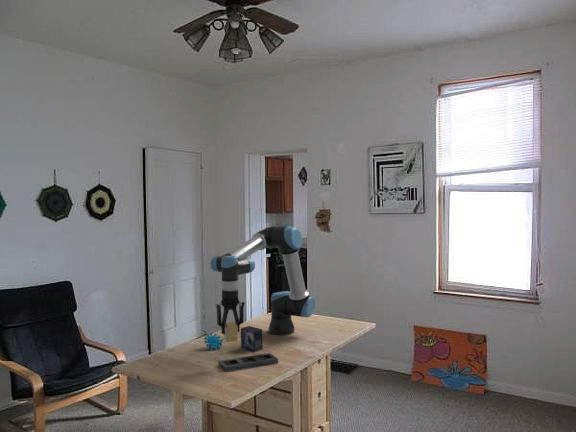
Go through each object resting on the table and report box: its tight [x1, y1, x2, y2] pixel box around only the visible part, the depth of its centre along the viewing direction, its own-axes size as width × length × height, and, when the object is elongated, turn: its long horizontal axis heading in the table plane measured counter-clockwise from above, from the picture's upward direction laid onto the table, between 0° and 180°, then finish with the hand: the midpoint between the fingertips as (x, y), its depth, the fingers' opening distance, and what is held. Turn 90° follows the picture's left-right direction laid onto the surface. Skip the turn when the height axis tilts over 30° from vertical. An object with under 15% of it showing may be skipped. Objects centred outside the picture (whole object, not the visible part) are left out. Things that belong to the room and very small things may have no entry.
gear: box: [203, 332, 224, 351], centre depth 256 cm, size 11×6×10 cm
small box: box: [240, 325, 264, 352], centre depth 254 cm, size 11×6×10 cm, turn 47°
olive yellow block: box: [225, 321, 238, 343], centre depth 225 cm, size 4×4×8 cm
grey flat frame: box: [218, 352, 279, 373], centre depth 230 cm, size 26×10×2 cm, turn 115°
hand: (230, 339), depth 226 cm, fingers closed on olive yellow block, 4 cm apart
